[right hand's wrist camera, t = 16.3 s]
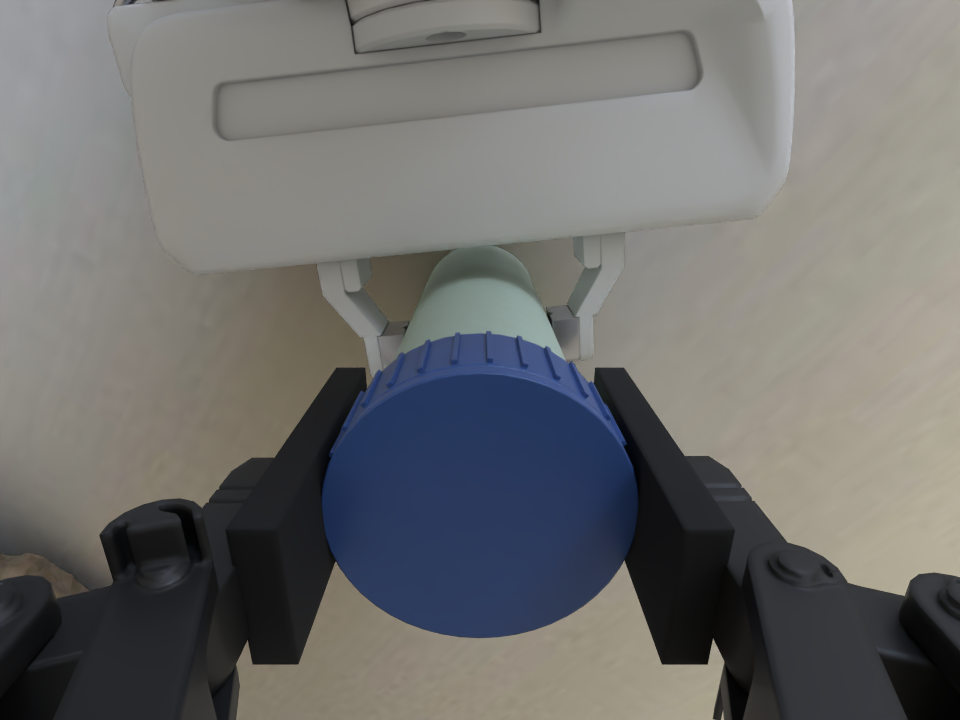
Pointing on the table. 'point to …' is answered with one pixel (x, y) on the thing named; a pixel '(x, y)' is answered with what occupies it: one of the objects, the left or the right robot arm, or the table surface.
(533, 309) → the pale green bottle
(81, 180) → the table surface
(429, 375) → the lid
